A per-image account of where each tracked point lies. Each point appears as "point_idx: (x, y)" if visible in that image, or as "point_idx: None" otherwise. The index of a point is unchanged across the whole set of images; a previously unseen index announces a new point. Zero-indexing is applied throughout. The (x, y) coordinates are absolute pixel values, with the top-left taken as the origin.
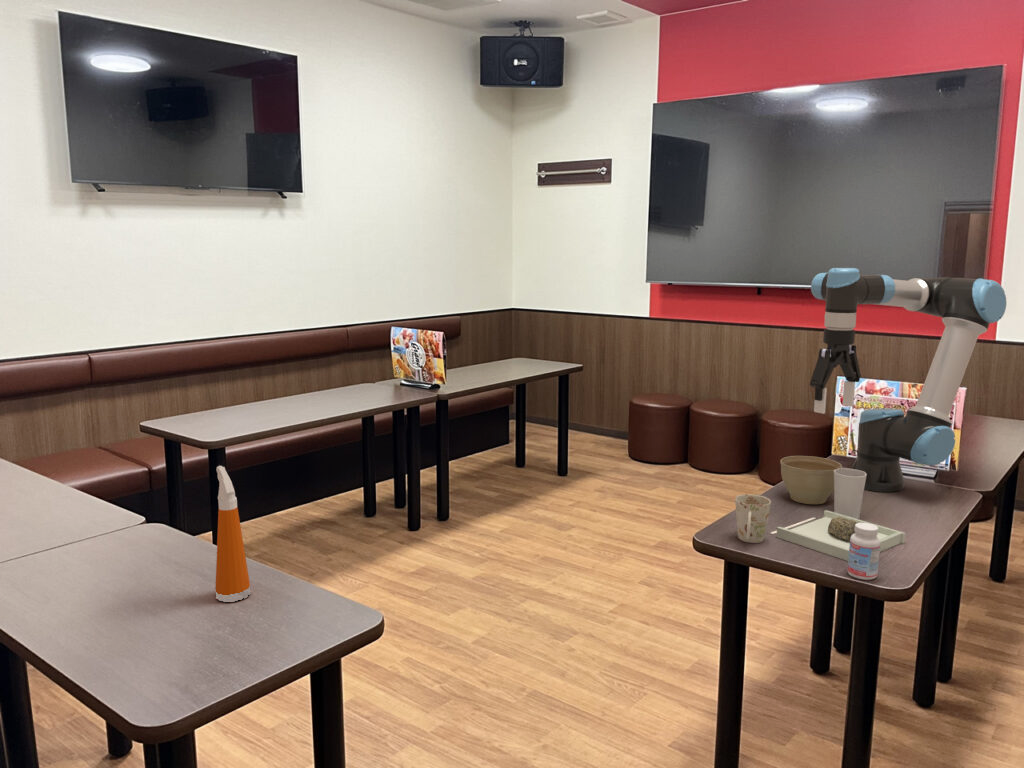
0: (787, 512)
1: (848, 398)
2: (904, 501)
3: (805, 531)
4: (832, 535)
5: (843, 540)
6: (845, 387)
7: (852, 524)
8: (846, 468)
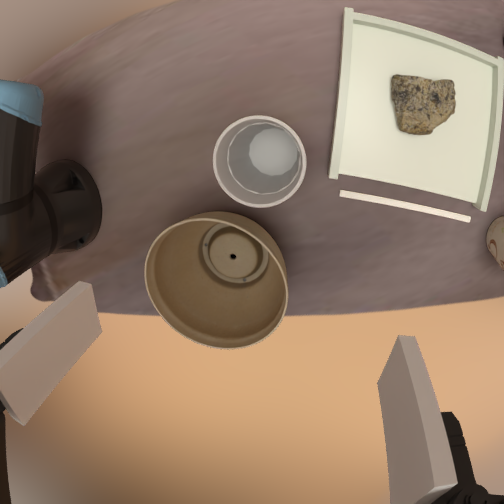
0: (341, 248)
1: (70, 330)
2: (105, 122)
3: (445, 170)
4: None
5: None
6: (39, 391)
7: (444, 81)
8: (224, 188)
